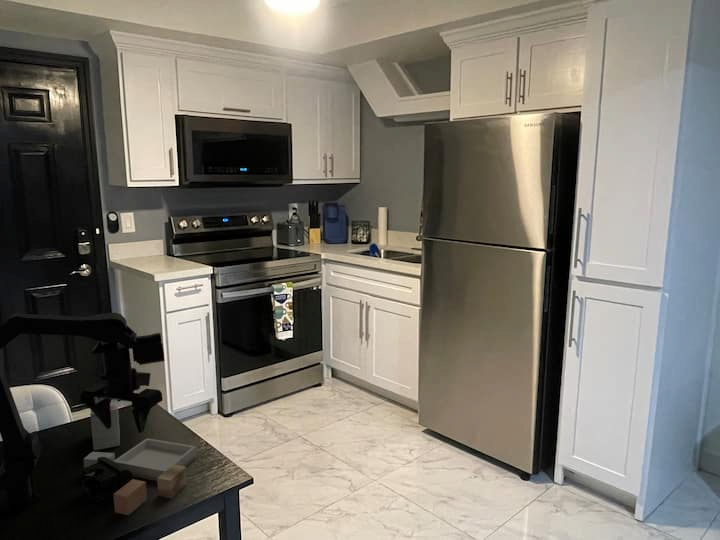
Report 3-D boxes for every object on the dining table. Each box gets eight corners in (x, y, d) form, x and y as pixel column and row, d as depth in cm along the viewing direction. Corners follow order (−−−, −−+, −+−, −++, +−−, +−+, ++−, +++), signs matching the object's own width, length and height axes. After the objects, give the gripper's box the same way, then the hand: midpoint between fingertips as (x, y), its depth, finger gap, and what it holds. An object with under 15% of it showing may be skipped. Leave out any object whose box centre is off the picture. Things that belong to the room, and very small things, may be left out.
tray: (166, 482, 126) (165, 471, 125) (114, 472, 131) (112, 461, 130) (196, 457, 138) (196, 446, 137) (147, 448, 142) (147, 438, 142)
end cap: (134, 491, 123) (132, 465, 122) (105, 506, 117) (102, 479, 116) (112, 477, 129) (109, 452, 127) (82, 491, 123) (80, 464, 122)
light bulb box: (94, 434, 151) (90, 398, 149) (120, 429, 153) (117, 394, 152) (93, 451, 141) (89, 413, 139) (120, 445, 144) (117, 408, 142)
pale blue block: (116, 469, 132) (114, 453, 131) (107, 477, 129) (106, 460, 128) (94, 468, 133) (92, 451, 132) (85, 475, 130) (83, 458, 129)
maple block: (171, 498, 120) (170, 480, 119) (158, 496, 121) (157, 478, 120) (187, 484, 126) (186, 466, 125) (174, 481, 127) (173, 464, 126)
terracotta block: (128, 515, 114) (126, 496, 113) (115, 512, 115) (113, 494, 114) (147, 499, 120) (145, 481, 119) (134, 497, 121) (132, 479, 120)
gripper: (173, 358, 127) (179, 418, 130) (109, 353, 132) (116, 411, 135) (143, 375, 116) (150, 441, 119) (74, 369, 122) (83, 432, 124)
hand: (125, 430), depth 125 cm, fingers open, 9 cm apart
